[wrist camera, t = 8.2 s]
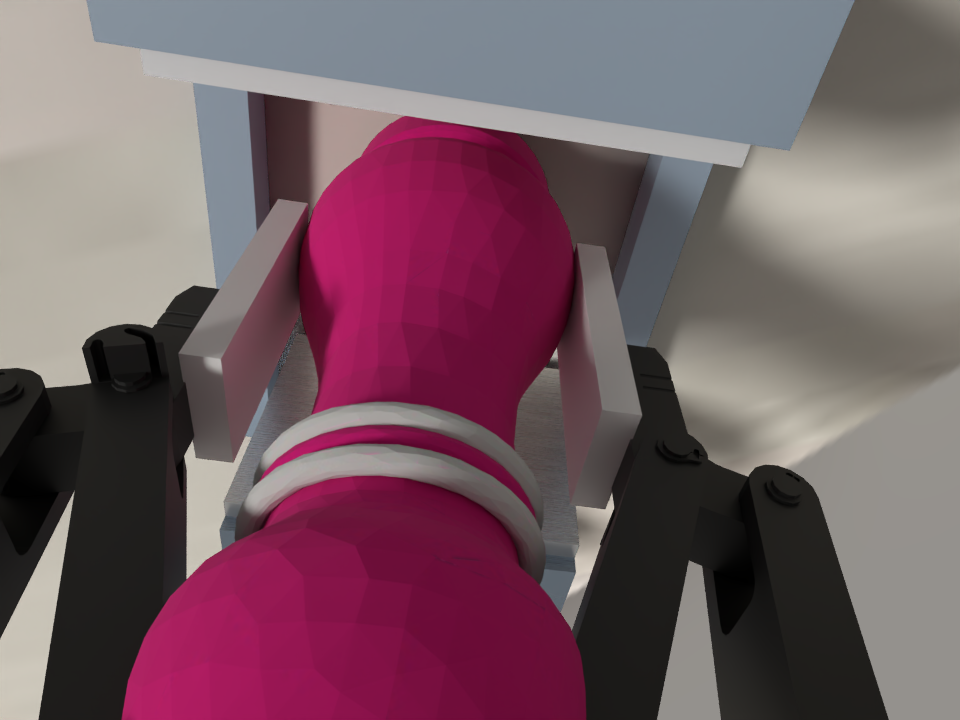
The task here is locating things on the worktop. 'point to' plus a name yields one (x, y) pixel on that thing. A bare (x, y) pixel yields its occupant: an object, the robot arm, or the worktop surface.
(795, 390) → the worktop surface
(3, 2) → the worktop surface
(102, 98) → the worktop surface
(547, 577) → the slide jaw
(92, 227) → the worktop surface
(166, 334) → the robot arm
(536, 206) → the pepper mill
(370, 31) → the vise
